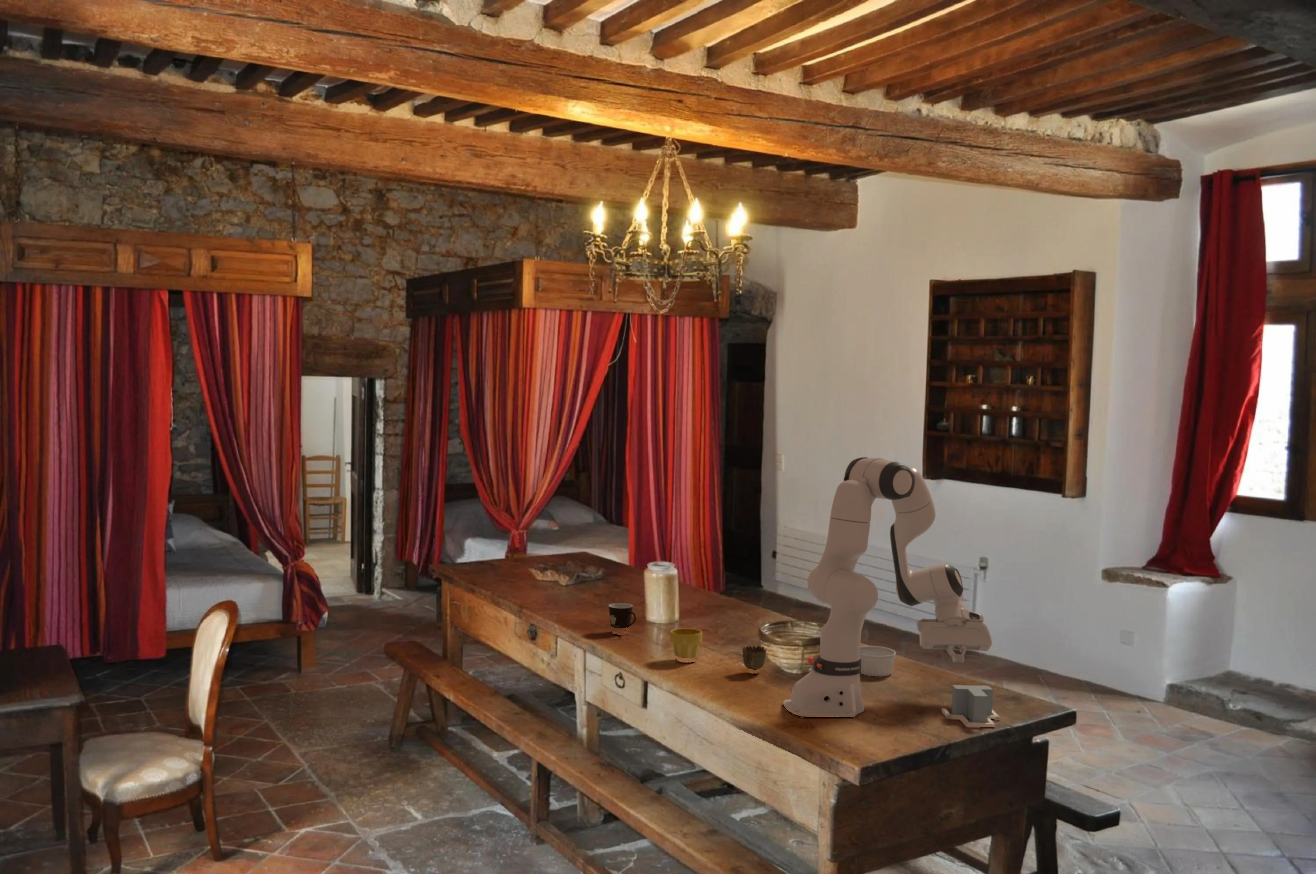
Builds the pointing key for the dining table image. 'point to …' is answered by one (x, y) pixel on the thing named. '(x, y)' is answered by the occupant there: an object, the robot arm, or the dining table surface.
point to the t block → (972, 702)
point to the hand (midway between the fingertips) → (958, 661)
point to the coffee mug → (621, 615)
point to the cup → (754, 657)
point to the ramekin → (877, 660)
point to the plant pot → (686, 642)
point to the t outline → (972, 724)
